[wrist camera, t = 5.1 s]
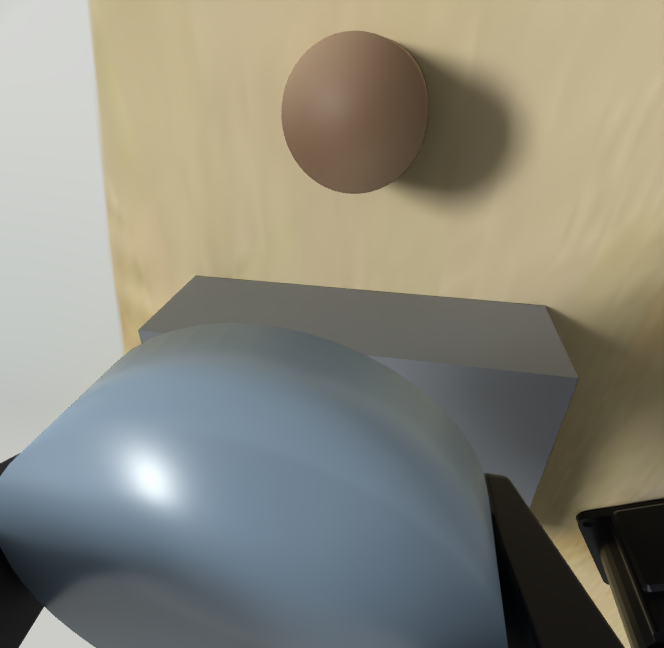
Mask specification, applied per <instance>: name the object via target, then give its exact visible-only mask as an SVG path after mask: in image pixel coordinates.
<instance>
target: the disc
mask: <svg viewBox="0 0 664 648" xmlns="http://www.w3.org/2000/svg"><path fill="white" fill-rule="evenodd" d="M0 547H1V550H2V551H3V553H4V555H5V557H6V559H7V560H8V562H9V564H10V566H11V567H12V569H13V570H14V571H15V573H16V574H17V576H18V577H19V578H20V580H21V581H22V582H23V584H24V585H25V586H26V587H27V588H28V589H29V591H30V592H31V593H32V594H33V595H34V596H35V597H36V598H37V600H38V601H39V602H40V603H42V604H43V605H44V606H45V607H46V608H47V609H48V610H49V611H50V612H51V613H52V614H53V615H54V616H55V617H57V618H58V619H59V620H60V621H61V622H62V623H64V624H65V625H66V626H67V627H69V628H70V629H71V630H72V631H73V632H75V633H77V634H78V635H79V636H80V637H82V638H83V639H85V640H86V641H87V642H89V643H90V644H92V645H93V646H94V647H96V648H508V643H507V635H506V628H505V620H504V612H503V604H502V596H501V589H500V581H499V573H498V565H497V557H496V550H495V542H494V534H493V526H492V518H491V511H490V503H489V496H488V491H487V486H486V481H485V476H484V474H483V471H482V469H481V466H480V464H479V461H478V459H477V457H476V454H475V452H474V451H473V449H472V448H471V446H470V444H469V443H468V441H467V440H466V438H465V436H464V435H463V433H462V432H461V430H460V429H459V428H458V427H457V426H456V424H455V423H454V422H453V421H452V420H451V419H450V417H449V416H448V415H447V414H446V413H445V411H444V410H443V409H442V408H440V407H439V406H438V405H437V404H436V403H435V402H434V401H433V400H432V399H431V398H429V397H428V396H427V395H426V394H425V393H424V392H423V391H422V390H421V389H419V388H418V387H416V386H415V385H414V384H412V383H411V382H409V381H408V380H407V379H405V378H404V377H402V376H401V375H399V374H398V373H397V372H395V371H394V370H392V369H390V368H388V367H387V366H385V365H383V364H381V363H379V362H377V361H376V360H374V359H372V358H370V357H368V356H367V355H365V354H363V353H360V352H358V351H355V350H353V349H351V348H348V347H346V346H343V345H341V344H339V343H336V342H334V341H331V340H328V339H325V338H321V337H318V336H314V335H311V334H308V333H304V332H301V331H297V330H291V329H286V328H280V327H275V326H269V325H260V324H245V323H220V324H203V325H198V326H193V327H187V328H182V329H177V330H174V331H171V332H168V333H165V334H162V335H160V336H157V337H154V338H151V339H149V340H148V341H146V342H144V343H142V344H141V345H139V346H137V347H135V348H133V349H132V350H130V351H129V352H128V353H127V354H126V355H124V356H123V357H122V358H121V359H120V360H118V361H117V362H116V363H115V364H114V365H113V366H112V367H111V368H110V369H109V370H108V371H107V372H105V373H104V374H103V375H102V376H101V377H100V378H99V379H98V380H97V381H96V382H95V383H94V384H93V385H92V386H91V387H90V388H89V389H88V390H86V392H84V393H83V394H82V395H81V396H80V397H79V398H78V399H77V400H76V401H75V402H74V403H73V404H72V405H71V406H70V407H69V408H68V409H66V411H64V412H63V413H62V414H61V415H60V416H59V417H58V418H57V419H56V420H55V421H54V422H53V423H52V424H51V425H50V426H49V427H48V428H47V429H45V430H44V431H43V432H42V433H41V434H40V435H39V436H38V437H37V438H36V439H35V440H34V441H33V442H32V443H31V444H30V445H29V446H28V447H27V448H25V449H24V450H23V451H22V452H21V453H20V454H19V455H18V456H17V457H16V458H15V459H14V460H13V461H12V462H11V463H10V464H9V465H8V467H7V468H6V469H5V471H4V472H3V473H2V475H1V476H0Z"/></svg>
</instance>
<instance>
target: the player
mask: <svg viewBox="0 0 664 648" xmlns="http://www.w3.org/2000/svg"><path fill="white" fill-rule="evenodd" d="M220 323H245V324H260V325H269V326H275V327H280V328H286V329H291V330H297V331H301V332H304V333H308V334H311V335H314V336H318V337H321V338H325V339H328V340H331V341H334V342H336V343H339V344H341V345H343V346H346V347H348V348H351V349H353V350H355V351H358V352H360V353H363V354H365V355H367V356H368V357H370V358H372V359H374V360H376V361H377V362H379V363H381V364H383V365H385V366H387V367H388V368H390V369H392V370H394V371H395V372H397V373H398V374H399V375H401V376H402V377H404V378H405V379H407V380H408V381H409V382H411V383H412V384H414V385H415V386H416V387H418V388H419V389H421V390H422V391H423V392H424V393H425V394H426V395H427V396H428V397H429V398H431V399H432V400H433V401H434V402H435V403H436V404H437V405H438V406H439V407H440V408H442V409H443V410H444V411H445V413H446V414H447V415H448V416H449V417H450V419H451V420H452V421H453V422H454V423H455V424H456V426H457V427H458V428H459V429H460V430H461V432H462V433H463V435H464V436H465V438H466V440H467V441H468V443H469V444H470V446H471V448H472V449H473V451H474V452H475V454H476V457H477V459H478V461H479V464H480V466H481V469H482V471H483V474H484V473H491V474H498V475H503V476H506V477H508V478H509V479H510V481H511V482H512V484H513V485H514V486H515V488H516V489H517V491H518V492H519V494H520V495H521V497H522V498H523V500H524V501H525V503H526V504H527V505H528V507H529V508H530V506H531V503H532V501H533V498H534V495H535V493H536V490H537V487H538V485H539V482H540V479H541V477H542V474H543V472H544V469H545V466H546V464H547V461H548V458H549V456H550V453H551V450H552V448H553V445H554V443H555V440H556V437H557V435H558V432H559V429H560V427H561V424H562V421H563V419H564V416H565V414H566V411H567V408H568V406H569V403H570V400H571V398H572V395H573V392H574V390H575V387H576V385H577V382H578V379H579V377H578V375H577V373H576V371H575V369H574V367H573V365H572V362H571V360H570V358H569V356H568V354H567V352H566V350H565V347H564V345H563V343H562V341H561V339H560V337H559V335H558V332H557V330H556V328H555V326H554V324H553V322H552V320H551V317H550V315H549V313H548V311H547V309H546V307H545V306H543V305H531V304H519V303H508V302H496V301H484V300H472V299H461V298H449V297H437V296H426V295H414V294H402V293H391V292H379V291H367V290H355V289H344V288H332V287H320V286H309V285H297V284H285V283H273V282H262V281H250V280H238V279H227V278H215V277H203V276H195V277H194V278H193V279H192V280H191V281H189V282H188V283H187V284H186V285H185V286H184V287H183V288H182V289H181V290H180V291H179V292H178V293H177V294H176V295H175V296H174V297H173V298H172V299H171V300H169V301H168V302H167V303H166V304H165V305H164V306H163V307H162V308H161V309H160V310H159V311H158V312H157V313H156V314H155V315H154V316H153V317H152V318H151V319H149V320H148V321H147V322H146V323H145V324H144V325H143V326H142V327H141V328H140V329H139V330H138V332H139V335H140V339H141V342H142V343H144V342H146V341H148V340H149V339H151V338H154V337H157V336H160V335H162V334H165V333H168V332H171V331H174V330H177V329H182V328H187V327H193V326H198V325H203V324H220Z"/></svg>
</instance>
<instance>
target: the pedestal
mask: <svg viewBox="0 0 664 648" xmlns="http://www.w3.org/2000/svg"><path fill="white" fill-rule="evenodd" d="M427 122H428V94H427V87H426V82H425V79H424V76H423V73H422V71H421V69H420V67H419V65H418V64H417V62H416V61H415V59H414V58H413V57H412V55H411V54H410V53H409V52H408V51H407V50H406V49H404V48H403V47H402V46H401V45H399V44H397V43H396V42H394V41H392V40H389V39H387V38H384V37H382V36H379V35H377V34H373V33H369V32H364V31H347V32H341V33H337V34H334V35H331V36H329V37H327V38H324V39H323V40H321V41H319V42H318V43H316V44H315V45H314V46H312V47H311V48H310V49H309V50H307V52H306V53H305V54H304V55H303V56H302V57H301V58H300V59H299V61H298V62H297V64H296V65H295V67H294V68H293V70H292V72H291V74H290V76H289V78H288V81H287V84H286V87H285V91H284V95H283V101H282V125H283V131H284V135H285V139H286V142H287V145H288V147H289V149H290V151H291V153H292V155H293V157H294V159H295V160H296V162H297V163H298V165H299V166H300V167H301V168H302V169H303V171H304V172H305V173H306V174H307V175H308V176H310V177H311V178H312V179H313V180H315V181H316V182H317V183H319V184H321V185H323V186H324V187H327V188H329V189H332V190H334V191H338V192H342V193H350V194H357V193H366V192H371V191H374V190H377V189H380V188H382V187H384V186H386V185H388V184H390V183H391V182H393V181H394V180H396V179H397V178H398V177H399V176H401V175H402V174H403V173H404V172H405V170H406V169H407V168H408V167H409V166H410V164H411V163H412V162H413V161H414V159H415V157H416V155H417V154H418V152H419V150H420V147H421V145H422V143H423V140H424V136H425V133H426V128H427Z"/></svg>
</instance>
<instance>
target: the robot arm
mask: <svg viewBox="0 0 664 648" xmlns="http://www.w3.org/2000/svg"><path fill="white" fill-rule="evenodd" d="M19 454H20V453H19ZM19 454H17V455H15V456H14V457H12V458H10V459H8V460H6V461H4V462H2V463H0V476H1V475H2V473H3V472H4V471H5V469H6V468H7V467H8V465H9V464H10V463H11V462H12V461H13V460H14V459H15V458H16V457H17V456H18V455H19ZM484 476H485V481H486V486H487V491H488V496H489V503H490V511H491V518H492V526H493V534H494V542H495V550H496V557H497V565H498V573H499V581H500V589H501V596H502V604H503V612H504V620H505V628H506V635H507V643H508V648H625V647H624V646H623V644H622V643H621V642H620V640H619V639H618V637H617V636H616V634H615V633H614V631H613V630H612V628H611V627H610V625H609V624H608V623H607V621H606V620H605V618H604V617H603V615H602V614H601V612H600V611H599V609H598V608H597V606H596V605H595V603H594V602H593V601H592V599H591V598H590V596H589V595H588V593H587V592H586V590H585V589H584V587H583V586H582V584H581V583H580V582H579V580H578V579H577V577H576V576H575V574H574V573H573V571H572V570H571V568H570V567H569V565H568V564H567V563H566V561H565V560H564V558H563V557H562V555H561V554H560V552H559V551H558V549H557V548H556V546H555V545H554V544H553V542H552V541H551V539H550V538H549V536H548V535H547V533H546V532H545V530H544V529H543V527H542V526H541V524H540V523H539V522H538V520H537V519H536V517H535V516H534V514H533V513H532V511H531V510H530V508H529V507H528V505H527V504H526V503H525V501H524V500H523V498H522V497H521V495H520V494H519V492H518V491H517V489H516V488H515V486H514V485H513V484H512V482H511V481H510V479H509V478H508V477H506V476H503V475H498V474H491V473H484ZM576 520H577V524H578V526H579V529H580V531H581V533H582V535H583V537H584V540H585V542H586V544H587V546H588V548H589V551H590V553H591V555H592V557H593V559H594V562H595V564H596V566H597V568H598V570H599V573H600V575H601V577H602V579H603V581H604V582H605V583H606V584H609V585H610V588H611V591H612V593H613V596H614V599H615V602H616V605H617V608H618V611H619V614H620V617H621V620H622V623H623V625H624V628H625V631H626V634H627V637H628V640H629V643H630V646H631V648H664V500H659V501H652V502H646V503H639V504H633V505H627V506H620V507H614V508H608V509H601V510H595V511H589V512H583V513H580V514H578V515H577V516H576ZM43 607H44V605H43V604H42V603H40V602H39V601H38V600H37V598H36V597H35V596H34V595H33V594H32V593H31V592H30V591H29V589H28V588H27V587H26V586H25V585H24V584H23V582H22V581H21V580H20V578H19V577H18V576H17V574H16V573H15V571H14V570H13V569H12V567H11V566H10V564H9V562H8V560H7V559H6V557H5V555H4V553H3V551H2V550H1V547H0V648H19V646H20V645H21V643H22V641H23V640H24V638H25V637H26V635H27V633H28V632H29V630H30V628H31V627H32V625H33V623H34V622H35V620H36V619H37V617H38V615H39V614H40V612H41V611H42V609H43Z"/></svg>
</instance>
